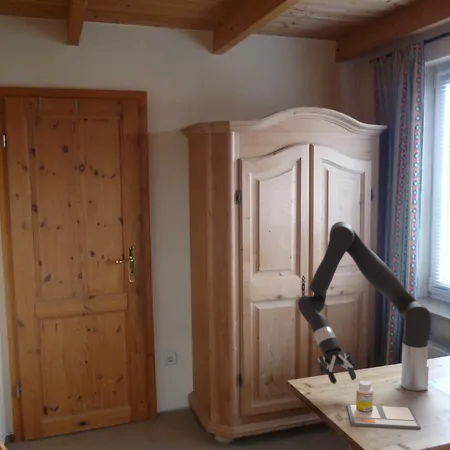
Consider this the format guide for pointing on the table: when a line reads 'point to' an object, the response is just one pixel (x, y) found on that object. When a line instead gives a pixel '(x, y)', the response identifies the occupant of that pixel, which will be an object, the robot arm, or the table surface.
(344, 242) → the robot arm
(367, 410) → the supplement bottle
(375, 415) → the board
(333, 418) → the table surface
